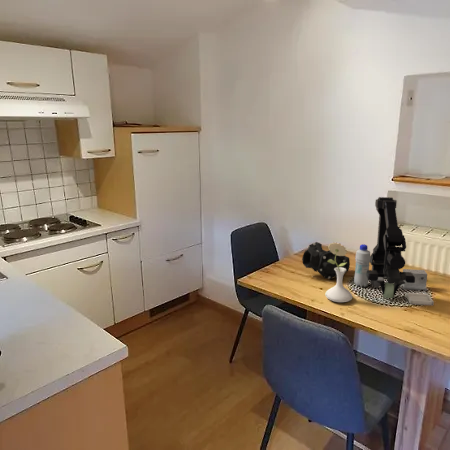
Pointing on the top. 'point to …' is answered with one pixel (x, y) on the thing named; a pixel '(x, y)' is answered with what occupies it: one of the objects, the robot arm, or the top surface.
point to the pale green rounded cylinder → (388, 290)
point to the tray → (419, 299)
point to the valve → (323, 260)
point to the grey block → (375, 283)
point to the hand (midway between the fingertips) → (388, 294)
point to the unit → (416, 280)
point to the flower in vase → (338, 276)
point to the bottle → (362, 266)
